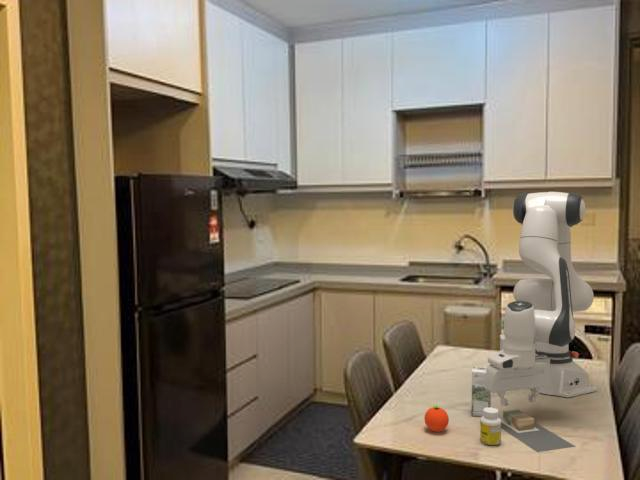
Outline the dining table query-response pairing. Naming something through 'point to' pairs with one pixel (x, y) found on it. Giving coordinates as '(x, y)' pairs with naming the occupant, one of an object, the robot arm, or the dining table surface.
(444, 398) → the dining table surface
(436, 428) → the clementine
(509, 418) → the shiny reflective rectangular block
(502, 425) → the mat
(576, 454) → the dining table surface
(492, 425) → the supplement bottle
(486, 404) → the syrup box
